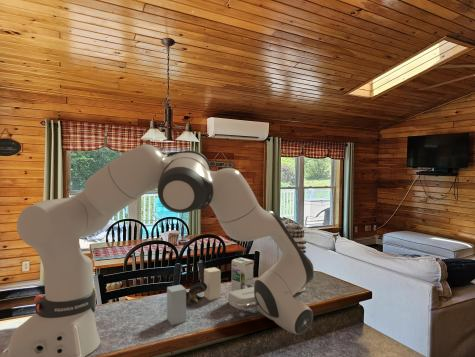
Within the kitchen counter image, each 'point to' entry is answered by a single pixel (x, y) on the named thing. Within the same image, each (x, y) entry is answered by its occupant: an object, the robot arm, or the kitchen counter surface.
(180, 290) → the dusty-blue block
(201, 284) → the brown animal figure
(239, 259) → the syrup box
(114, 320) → the kitchen counter surface
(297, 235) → the decorative candle
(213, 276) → the cream block
